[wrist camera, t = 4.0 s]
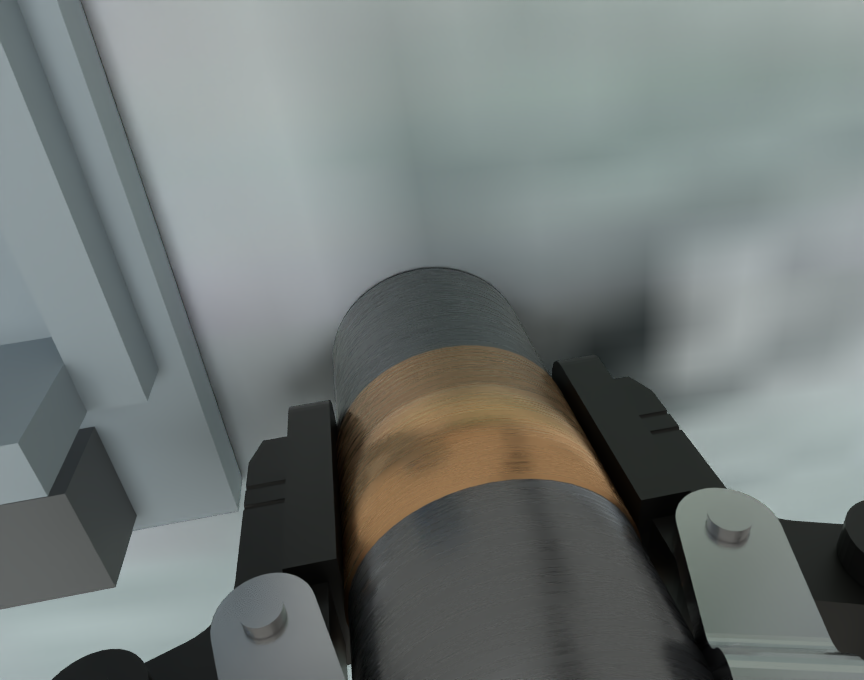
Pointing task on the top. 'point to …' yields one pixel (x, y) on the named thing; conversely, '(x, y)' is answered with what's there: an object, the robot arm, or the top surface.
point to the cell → (482, 505)
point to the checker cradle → (87, 330)
